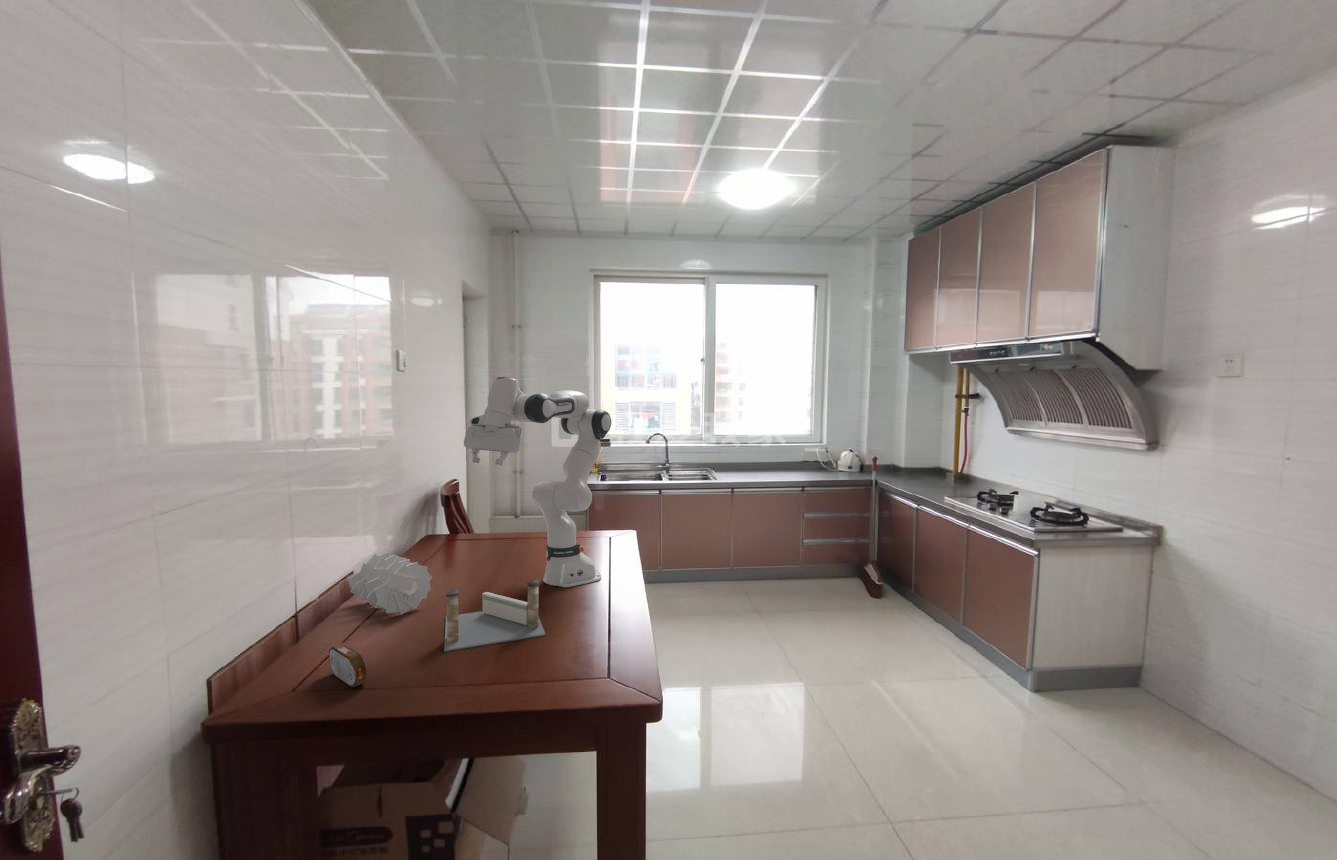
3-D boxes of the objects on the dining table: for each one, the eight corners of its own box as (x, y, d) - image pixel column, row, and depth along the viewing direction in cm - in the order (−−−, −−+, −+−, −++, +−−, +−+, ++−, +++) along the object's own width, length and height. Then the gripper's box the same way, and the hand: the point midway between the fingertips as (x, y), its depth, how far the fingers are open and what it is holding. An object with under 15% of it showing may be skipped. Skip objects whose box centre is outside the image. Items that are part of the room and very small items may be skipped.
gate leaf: (530, 623, 160) (530, 602, 160) (526, 625, 159) (526, 604, 158) (486, 610, 169) (486, 591, 169) (482, 612, 168) (482, 593, 167)
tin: (368, 687, 126) (367, 654, 125) (354, 693, 123) (354, 659, 122) (340, 669, 134) (339, 637, 134) (326, 674, 131) (326, 642, 131)
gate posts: (538, 625, 161) (538, 579, 160) (539, 630, 158) (539, 583, 157) (446, 639, 151) (446, 590, 150) (446, 644, 148) (445, 594, 147)
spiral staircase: (385, 606, 184) (425, 620, 170) (336, 599, 170) (375, 613, 157) (405, 555, 190) (445, 564, 176) (359, 545, 177) (398, 554, 163)
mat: (534, 605, 176) (534, 604, 176) (545, 635, 154) (545, 633, 154) (445, 617, 166) (445, 616, 166) (444, 651, 144) (444, 650, 143)
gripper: (528, 427, 168) (519, 468, 165) (478, 424, 175) (469, 463, 172) (516, 422, 162) (506, 465, 159) (466, 418, 169) (455, 459, 166)
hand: (486, 464), depth 166 cm, fingers open, 8 cm apart
